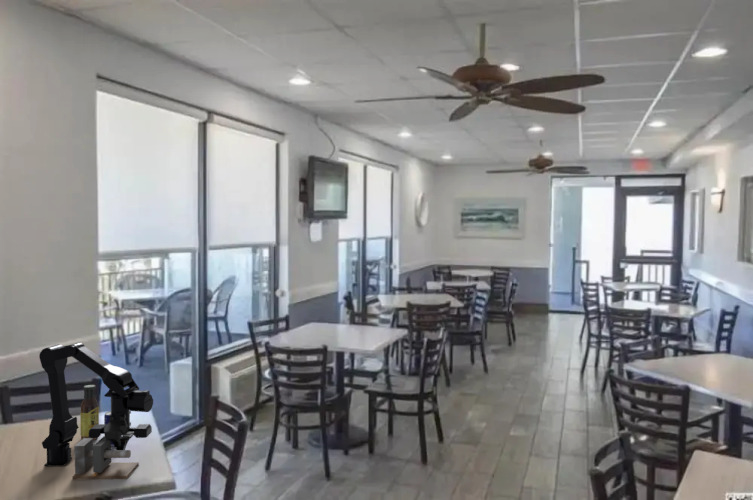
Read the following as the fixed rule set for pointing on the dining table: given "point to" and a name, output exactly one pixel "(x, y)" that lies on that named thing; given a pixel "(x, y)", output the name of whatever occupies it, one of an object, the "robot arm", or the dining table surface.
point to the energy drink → (106, 420)
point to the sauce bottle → (88, 411)
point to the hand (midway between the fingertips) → (120, 456)
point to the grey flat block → (101, 455)
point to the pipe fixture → (113, 469)
